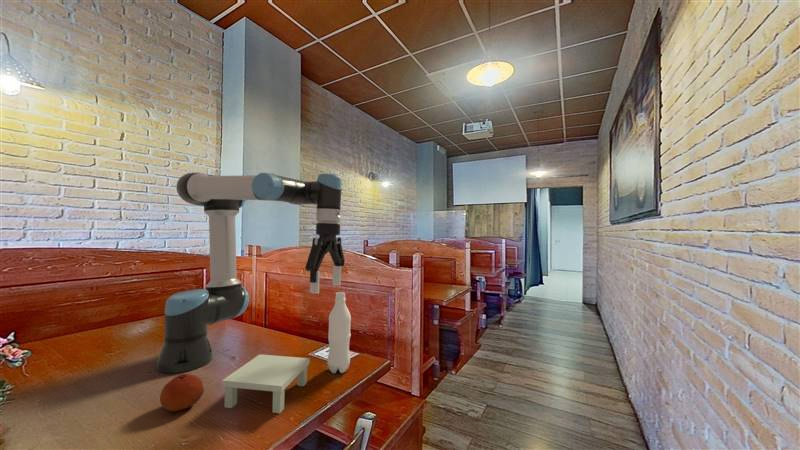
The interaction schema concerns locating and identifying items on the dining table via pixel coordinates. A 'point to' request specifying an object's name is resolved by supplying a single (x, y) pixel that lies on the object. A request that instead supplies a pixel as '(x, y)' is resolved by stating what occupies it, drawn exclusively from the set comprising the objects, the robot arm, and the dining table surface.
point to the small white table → (266, 378)
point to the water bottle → (339, 335)
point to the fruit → (181, 392)
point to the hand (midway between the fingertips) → (326, 289)
